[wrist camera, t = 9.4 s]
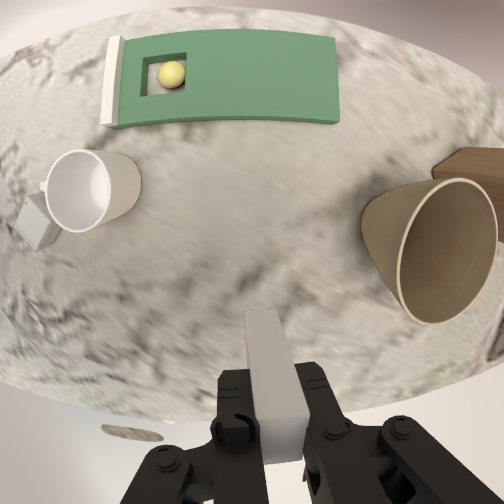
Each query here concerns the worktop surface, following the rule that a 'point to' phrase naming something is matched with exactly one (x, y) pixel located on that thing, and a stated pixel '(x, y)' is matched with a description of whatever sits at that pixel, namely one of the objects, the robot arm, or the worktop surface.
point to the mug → (90, 188)
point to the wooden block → (479, 175)
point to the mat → (223, 78)
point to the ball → (171, 74)
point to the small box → (36, 222)
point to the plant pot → (433, 245)
